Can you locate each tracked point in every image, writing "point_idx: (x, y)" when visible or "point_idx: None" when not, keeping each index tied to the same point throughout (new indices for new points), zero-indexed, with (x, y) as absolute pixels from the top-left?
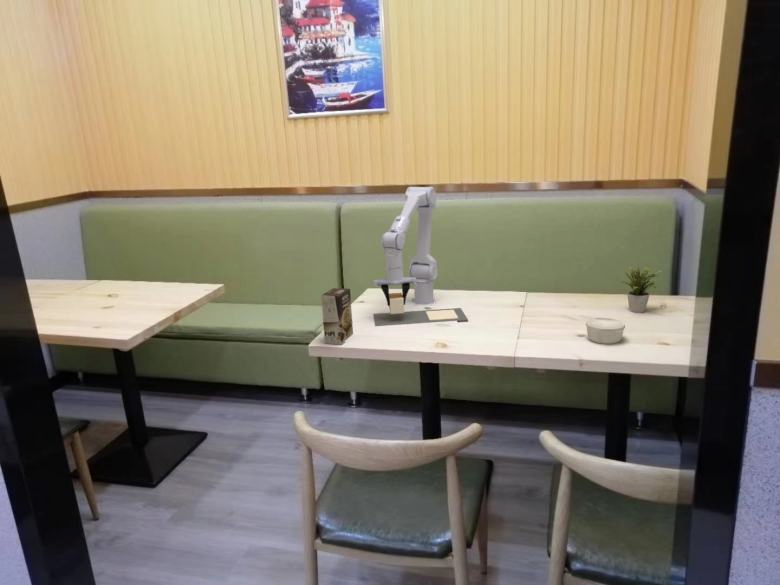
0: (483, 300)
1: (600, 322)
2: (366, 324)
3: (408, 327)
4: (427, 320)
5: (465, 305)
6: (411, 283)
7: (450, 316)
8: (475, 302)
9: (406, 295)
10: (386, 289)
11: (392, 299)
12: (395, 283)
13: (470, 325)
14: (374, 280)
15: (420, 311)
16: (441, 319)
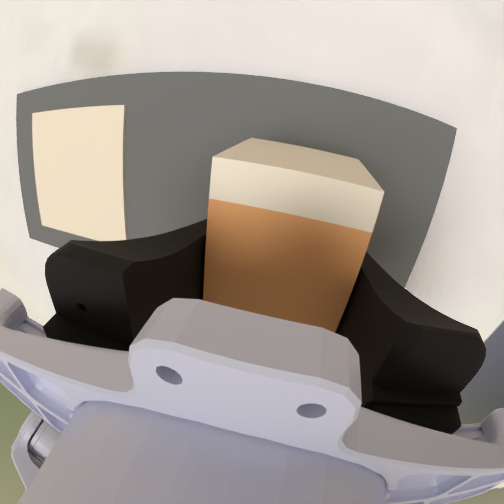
0: (8, 283)
1: None
2: (469, 209)
3: (261, 46)
4: (135, 108)
5: (29, 267)
6: (38, 325)
7: (48, 138)
8: (17, 278)
9: (160, 235)
10: (437, 325)
11: (351, 194)
12: (275, 330)
13: (26, 49)
14: (498, 483)
15: None
16: (80, 107)
